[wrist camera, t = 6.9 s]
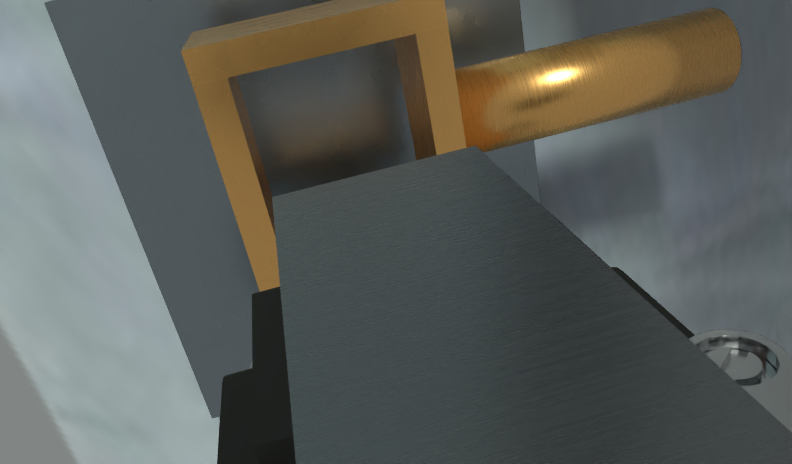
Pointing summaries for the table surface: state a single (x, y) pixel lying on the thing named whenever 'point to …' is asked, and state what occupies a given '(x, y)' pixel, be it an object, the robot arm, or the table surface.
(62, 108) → the table surface
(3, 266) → the table surface
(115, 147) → the ringlock standard
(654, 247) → the table surface
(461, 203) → the grey rectangular block
